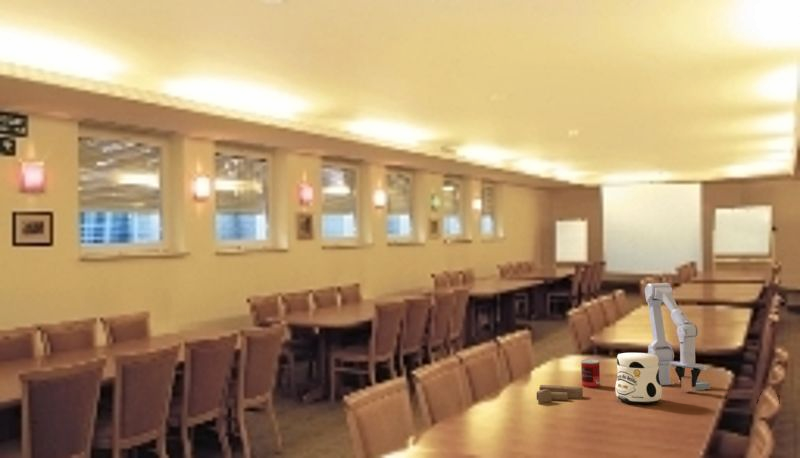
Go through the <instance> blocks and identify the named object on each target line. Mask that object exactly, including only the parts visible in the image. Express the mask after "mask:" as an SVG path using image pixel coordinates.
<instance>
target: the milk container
mask: <svg viewBox="0 0 800 458" xmlns="http://www.w3.org/2000/svg"><path fill="white" fill-rule="evenodd" d="M616 364H617V365H616V369H617V373H616V374H617V378H616V382H615V387H614V388H615V395H616V397H617V398H618V400H620V401H622V402H625V403H629V404H636V405H638V404H639V405H644V404H645V405H647V404H648V405H649V404H654V403H658V402H659V401H660V400H661V399H662V392H663V389H662V385H661V384H660V381H659V361H658V356H657V355H653V354H648V352H623V353H618V354H617V357H616Z"/></svg>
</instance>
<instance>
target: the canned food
mask: <svg viewBox="0 0 800 458" xmlns="http://www.w3.org/2000/svg"><path fill="white" fill-rule="evenodd" d="M580 367H581V385H582V386H581V387H583V386H584V387H583V388H587V387H588V388H589V389H596V388H599V387H600V386H601V384H600V383H601V382H600V381H601V379H600V377H601V375H600V374H601V373H600V372H601V371H600V369H601V368H600V360H598V359H591V358H590V359H589V358H587V359H582V360H581V366H580Z"/></svg>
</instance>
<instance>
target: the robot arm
mask: <svg viewBox="0 0 800 458" xmlns="http://www.w3.org/2000/svg"><path fill="white" fill-rule="evenodd" d="M644 294H645V301H646V303H647V306H648V312H649V313H648V314H649V321H650V327H651V334H652V341H651V342H650V344H648V346H647V349H648V350H647V354H653V355H657V356H658V361H659V381H660V384H661V386H669V385H675V383H674V382H671V368H672V367H675V368H674V370H675V373H676V375H677V376H678V379H679V380H678V381H680V382H679V383H680V386H682V384H681V377H684V376H685V370H686V369H690V373H691V377H692V387H695V386H696V382H697V380H698V377H699V375H700V374H701V371H707V370H708V369H707V368H708V366H707V364H702V363H696V339H695V338H696V337H697V336H698V334H699V329H698V327H697V324H696V323H694V322H692V321H690V319H689V318H688V316H687V315H686V313H685V311H684V310H683V309H680V308H679V307H678V304H677V302H676V300H675V298H674V296H673V288H672V285H671V284H670V283H669V282H661V283H660V282H659V283H657V282H656V283H652V282H651V283H650V282H649V283H647V284H646V287H645V288H644ZM662 303H664V304H665V306H666V307H667V309H668V311H669V312H670V318H671V320H672V322H673V323H674V325H675V327H676V328H677V329H676V334H677V337H678V342H679V352H680V353H679V354H680V355H679V356H680V357H679V359H680V360H679V361H674V358H675V353H674V350H673V347H672V344H671V343H670V342H668V341H667V340H666V333H665V328H664V327H665V326H664V320H663V313H662Z"/></svg>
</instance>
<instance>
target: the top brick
mask: <svg viewBox="0 0 800 458" xmlns="http://www.w3.org/2000/svg"><path fill="white" fill-rule="evenodd" d="M681 384H682V385H681ZM680 385H681V391H683V390H684V391H690V392H692V391H695V390H694V389H695V387H692V376H689V375H684V377H681V383H680Z"/></svg>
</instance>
